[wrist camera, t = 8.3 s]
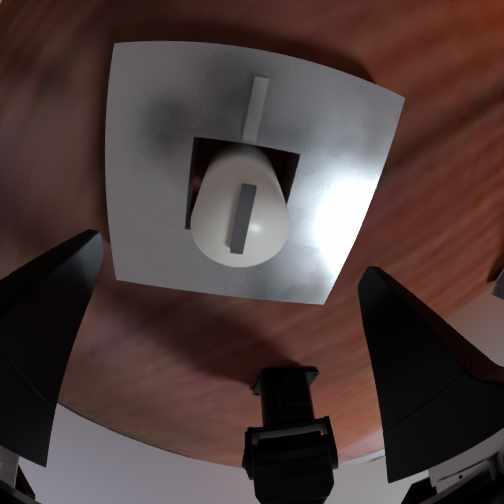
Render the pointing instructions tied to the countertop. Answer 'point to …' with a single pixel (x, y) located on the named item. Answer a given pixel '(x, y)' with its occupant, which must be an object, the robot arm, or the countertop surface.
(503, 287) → the toy gun
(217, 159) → the knob
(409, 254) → the countertop surface
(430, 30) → the countertop surface
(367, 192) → the plate
